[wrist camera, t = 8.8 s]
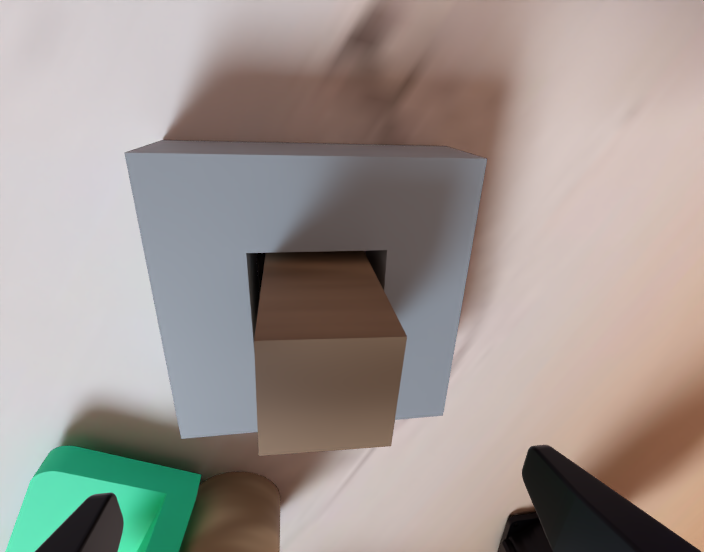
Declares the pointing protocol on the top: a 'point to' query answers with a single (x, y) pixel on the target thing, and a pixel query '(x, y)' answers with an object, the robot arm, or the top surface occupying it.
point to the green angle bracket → (107, 477)
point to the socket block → (298, 236)
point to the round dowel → (234, 515)
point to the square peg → (325, 354)
